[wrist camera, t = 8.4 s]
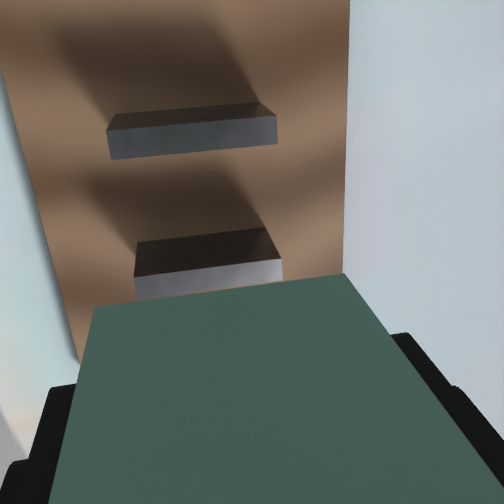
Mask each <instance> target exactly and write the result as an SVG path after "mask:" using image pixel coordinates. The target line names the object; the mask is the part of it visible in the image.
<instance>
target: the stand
mask: <svg viewBox="0 0 504 504" xmlns="http://www.w3.org/2000/svg"><path fill="white" fill-rule="evenodd" d="M349 18H350V0H0V68H1V72H2V75H3V79H4V83H5V86H6V90H7V94H8V98H9V101H10V105H11V109H12V113H13V116H14V120H15V124H16V128H17V131H18V135H19V139H20V142H21V146H22V150H23V154H24V157H25V161H26V165H27V169H28V172H29V176H30V180H31V184H32V187H33V191H34V195H35V198H36V202H37V206H38V210H39V213H40V217H41V221H42V225H43V228H44V232H45V236H46V240H47V243H48V247H49V251H50V254H51V258H52V262H53V266H54V269H55V273H56V277H57V281H58V284H59V288H60V292H61V296H62V299H63V303H64V307H65V310H66V314H67V318H68V322H69V325H70V329H71V333H72V337H73V340H74V344H75V348H76V352H77V355H78V359H79V363H80V366H81V362H82V358H83V353H84V349H85V345H86V341H87V336H88V332H89V328H90V324H91V319H92V315H93V311H94V307H97V306H105V305H112V304H120V303H127V302H135V301H142V300H150V299H157V298H164V297H172V296H179V295H187V294H194V293H202V292H209V291H217V290H224V289H231V288H239V287H246V286H254V285H261V284H269V283H276V282H284V281H291V280H298V279H306V278H313V277H321V276H328V275H336V274H342V264H343V229H344V194H345V159H346V124H347V88H348V53H349Z"/></svg>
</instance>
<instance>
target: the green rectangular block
mask: <svg viewBox="0 0 504 504" xmlns="http://www.w3.org/2000/svg"><path fill="white" fill-rule="evenodd" d="M48 504H504V488H503V487H502V485H501V484H500V483H499V481H498V480H497V478H496V477H495V476H494V474H493V473H492V472H491V470H490V469H489V468H488V466H487V465H486V464H485V462H484V461H483V460H482V458H481V457H480V456H479V454H478V453H477V452H476V450H475V449H474V447H473V446H472V445H471V443H470V442H469V441H468V439H467V438H466V437H465V435H464V434H463V433H462V431H461V430H460V429H459V427H458V426H457V425H456V423H455V422H454V421H453V419H452V418H451V417H450V415H449V414H448V412H447V411H446V410H445V408H444V407H443V406H442V404H441V403H440V402H439V400H438V399H437V398H436V396H435V395H434V394H433V392H432V391H431V390H430V388H429V387H428V386H427V384H426V383H425V381H424V380H423V379H422V377H421V376H420V375H419V373H418V372H417V371H416V369H415V368H414V367H413V365H412V364H411V363H410V361H409V360H408V359H407V357H406V356H405V355H404V353H403V352H402V350H401V349H400V348H399V346H398V345H397V344H396V342H395V341H394V340H393V338H392V337H391V336H390V334H389V333H388V332H387V330H386V329H385V328H384V326H383V325H382V324H381V322H380V321H379V320H378V318H377V317H376V315H375V314H374V313H373V311H372V310H371V309H370V307H369V306H368V305H367V303H366V302H365V301H364V299H363V298H362V297H361V295H360V294H359V293H358V291H357V290H356V289H355V287H354V286H353V284H352V283H351V282H350V280H349V279H348V278H347V276H346V275H345V274H344V273H343V274H336V275H328V276H321V277H313V278H306V279H298V280H291V281H284V282H276V283H269V284H261V285H254V286H246V287H239V288H231V289H224V290H217V291H209V292H202V293H194V294H187V295H179V296H172V297H164V298H157V299H150V300H142V301H135V302H127V303H120V304H112V305H105V306H97V307H94V311H93V315H92V319H91V324H90V328H89V332H88V336H87V341H86V345H85V349H84V353H83V358H82V362H81V366H80V371H79V375H78V379H77V383H76V388H75V392H74V396H73V400H72V405H71V409H70V413H69V417H68V422H67V426H66V430H65V435H64V439H63V443H62V447H61V452H60V456H59V460H58V464H57V469H56V473H55V477H54V481H53V486H52V490H51V494H50V498H49V503H48Z"/></svg>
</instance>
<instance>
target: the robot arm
mask: <svg viewBox="0 0 504 504" xmlns="http://www.w3.org/2000/svg"><path fill="white" fill-rule="evenodd" d="M390 336H391V337H392V338H393V340H394V341H395V342H396V344H397V345H398V346H399V348H400V349H401V350H402V352H403V353H404V355H405V356H406V357H407V359H408V360H409V361H410V363H411V364H412V365H413V367H414V368H415V369H416V371H417V372H418V373H419V375H420V376H421V377H422V379H423V380H424V381H425V383H426V384H427V386H428V387H429V388H430V390H431V391H432V392H433V394H434V395H435V396H436V398H437V399H438V400H439V402H440V403H441V404H442V406H443V407H444V408H445V410H446V411H447V412H448V414H449V415H450V417H451V418H452V419H453V421H454V422H455V423H456V425H457V426H458V427H459V429H460V430H461V431H462V433H463V434H464V435H465V437H466V438H467V439H468V441H469V442H470V443H471V445H472V446H473V447H474V449H475V450H476V452H477V453H478V454H479V456H480V457H481V458H482V460H483V461H484V462H485V464H486V465H487V466H488V468H489V469H490V470H491V472H492V473H493V474H494V476H495V477H496V478H497V480H498V481H499V483H500V484H501V485H502V487H503V488H504V440H503V439H502V438H501V436H500V435H499V434H498V433H497V432H496V430H495V429H494V428H493V427H492V425H491V424H490V423H489V422H488V421H487V419H486V418H485V417H484V416H483V415H482V413H481V412H480V411H479V410H478V409H477V407H476V406H475V405H474V404H473V403H472V401H471V400H470V399H469V398H468V396H467V395H466V394H465V393H464V392H463V391H462V390H461V389H460V388H459V387H456V386H451V384H450V383H449V382H448V381H447V379H446V378H445V377H444V376H443V374H442V373H441V372H440V371H439V369H438V368H437V367H436V366H435V365H434V363H433V362H432V361H431V360H430V358H429V357H428V356H427V355H426V353H425V352H424V351H423V350H422V348H421V347H420V346H419V345H418V343H417V342H416V341H415V340H414V339H413V337H412V336H411V335H410V334H409V333H406V332H405V333H399V334H392V335H390ZM75 388H76V384H70V385H64V386H57V387H52V388H51V389H50V390H49V392H48V396H47V399H46V402H45V405H44V409H43V412H42V415H41V419H40V422H39V425H38V428H37V432H36V435H35V438H34V441H33V445H32V448H31V451H30V455H29V458H28V459H25V460H19V461H14V462H12V464H11V465H10V466H9V468H8V470H7V473H6V475H5V478H4V481H3V484H2V487H1V490H0V504H48V503H49V498H50V494H51V490H52V486H53V481H54V477H55V473H56V469H57V464H58V460H59V456H60V452H61V447H62V443H63V439H64V435H65V430H66V426H67V422H68V417H69V413H70V409H71V405H72V400H73V396H74V392H75Z"/></svg>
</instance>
